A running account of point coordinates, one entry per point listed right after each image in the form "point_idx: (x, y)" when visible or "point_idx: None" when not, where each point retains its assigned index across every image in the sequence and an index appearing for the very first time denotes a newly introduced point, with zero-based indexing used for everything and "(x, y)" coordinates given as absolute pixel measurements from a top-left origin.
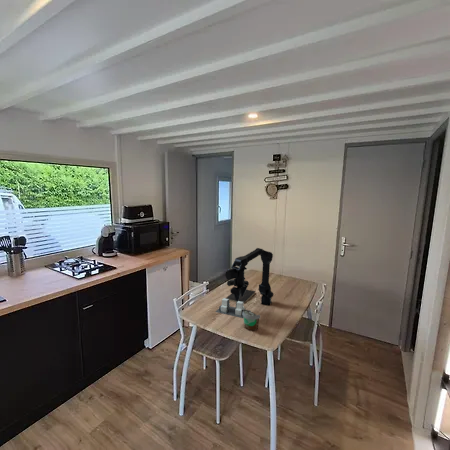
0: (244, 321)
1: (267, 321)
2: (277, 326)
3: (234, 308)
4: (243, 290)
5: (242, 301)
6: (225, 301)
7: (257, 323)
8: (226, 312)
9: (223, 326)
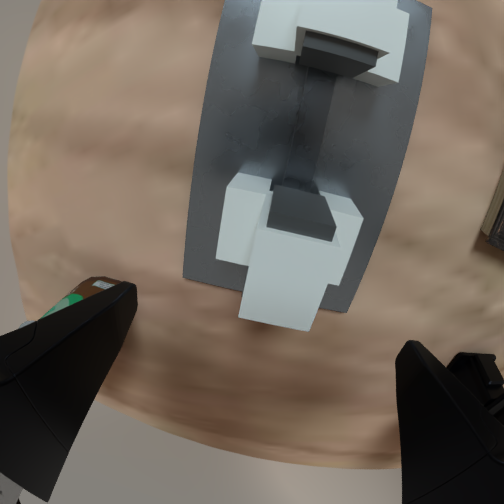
0: (54, 306)
1: (216, 393)
2: (185, 417)
3: (314, 155)
4: (426, 469)
5: (502, 225)
6: (303, 3)
7: None
8: (255, 64)
9: (42, 133)
